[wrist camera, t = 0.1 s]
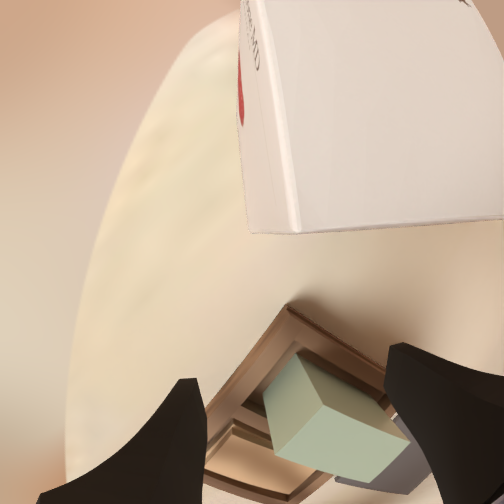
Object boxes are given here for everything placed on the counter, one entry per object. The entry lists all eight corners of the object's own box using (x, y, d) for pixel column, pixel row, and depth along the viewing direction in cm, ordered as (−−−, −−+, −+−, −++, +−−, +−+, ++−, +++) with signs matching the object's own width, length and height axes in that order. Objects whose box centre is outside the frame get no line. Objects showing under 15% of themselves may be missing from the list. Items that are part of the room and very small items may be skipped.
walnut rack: (284, 495, 21) (288, 511, 19) (168, 450, 20) (164, 466, 18) (400, 378, 21) (413, 389, 19) (285, 303, 20) (291, 312, 18)
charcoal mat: (406, 492, 23) (407, 494, 22) (334, 478, 22) (335, 481, 21) (459, 436, 23) (461, 438, 22) (402, 409, 21) (404, 411, 21)
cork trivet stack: (284, 485, 20) (287, 497, 19) (200, 452, 20) (198, 466, 18) (320, 453, 20) (326, 466, 19) (234, 416, 20) (234, 430, 18)
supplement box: (233, 110, 19) (238, -67, 4) (350, 109, 20) (471, -9, 5) (245, 236, 20) (283, 243, 5) (368, 224, 20) (549, 218, 5)
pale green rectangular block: (339, 429, 20) (368, 483, 13) (262, 393, 20) (274, 455, 13) (370, 394, 20) (410, 442, 13) (295, 352, 20) (323, 404, 13)
